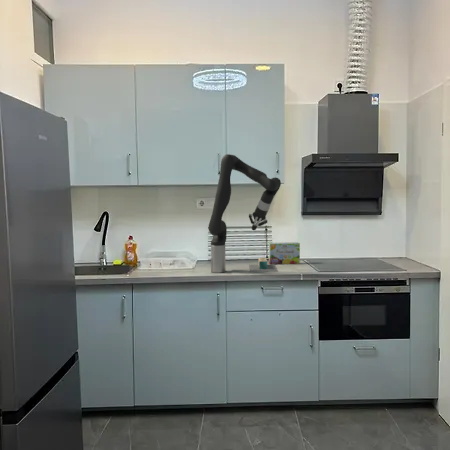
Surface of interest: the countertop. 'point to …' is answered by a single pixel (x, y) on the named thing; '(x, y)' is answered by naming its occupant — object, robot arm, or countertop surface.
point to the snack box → (284, 253)
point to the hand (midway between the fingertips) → (253, 229)
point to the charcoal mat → (269, 269)
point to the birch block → (262, 263)
